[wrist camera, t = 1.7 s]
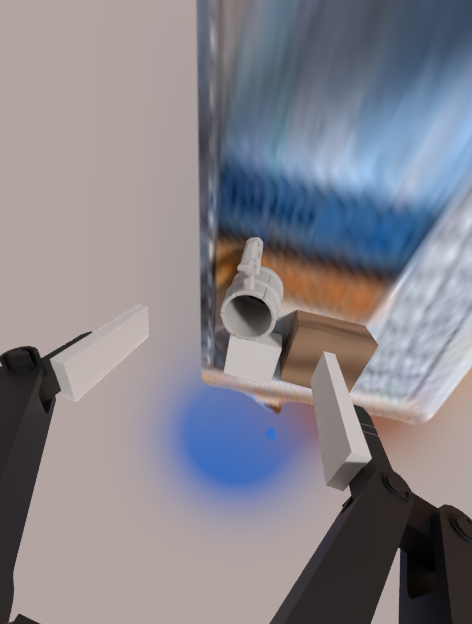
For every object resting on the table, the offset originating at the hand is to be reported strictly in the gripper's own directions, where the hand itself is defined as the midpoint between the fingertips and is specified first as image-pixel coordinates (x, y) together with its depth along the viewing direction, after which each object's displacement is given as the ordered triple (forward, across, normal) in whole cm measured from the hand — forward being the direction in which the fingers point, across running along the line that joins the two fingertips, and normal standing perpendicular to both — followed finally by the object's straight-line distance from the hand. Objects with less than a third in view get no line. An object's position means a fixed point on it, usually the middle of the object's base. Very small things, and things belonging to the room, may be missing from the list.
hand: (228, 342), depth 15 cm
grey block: (+18, +2, -13) cm, 22 cm away
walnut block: (+18, +12, -9) cm, 23 cm away
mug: (+18, 0, 0) cm, 18 cm away
